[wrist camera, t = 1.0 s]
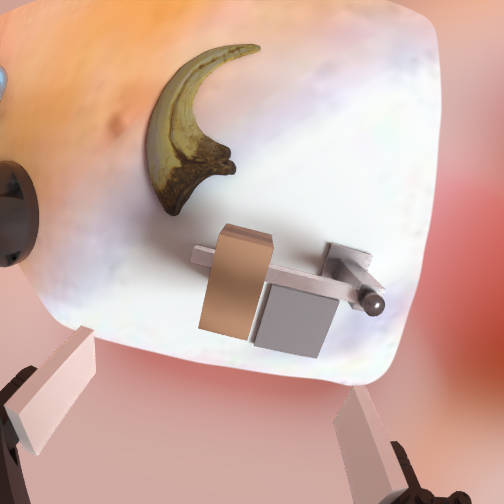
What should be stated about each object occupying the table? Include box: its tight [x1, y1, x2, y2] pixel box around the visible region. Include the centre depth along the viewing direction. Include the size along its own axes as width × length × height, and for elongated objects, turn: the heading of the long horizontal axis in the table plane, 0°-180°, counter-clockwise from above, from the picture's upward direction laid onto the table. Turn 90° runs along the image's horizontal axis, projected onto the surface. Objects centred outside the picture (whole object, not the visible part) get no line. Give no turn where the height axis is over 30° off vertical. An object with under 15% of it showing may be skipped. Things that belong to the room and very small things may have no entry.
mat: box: [254, 284, 340, 358], centre depth 34 cm, size 8×8×1 cm
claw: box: [147, 44, 260, 216], centre depth 29 cm, size 20×10×3 cm, turn 171°
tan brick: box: [198, 224, 274, 340], centre depth 28 cm, size 8×4×11 cm, turn 166°
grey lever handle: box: [190, 243, 385, 316], centre depth 28 cm, size 18×5×10 cm, turn 76°
